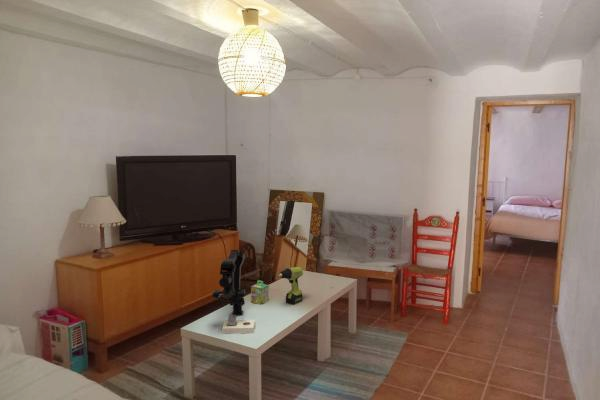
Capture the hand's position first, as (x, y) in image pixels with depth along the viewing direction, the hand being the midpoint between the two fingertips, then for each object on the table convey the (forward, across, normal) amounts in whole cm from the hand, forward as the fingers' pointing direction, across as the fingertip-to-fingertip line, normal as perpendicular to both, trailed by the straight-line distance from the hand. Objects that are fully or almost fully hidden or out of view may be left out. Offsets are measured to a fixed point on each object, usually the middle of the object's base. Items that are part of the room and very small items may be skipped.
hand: (229, 306), depth 263 cm
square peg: (+12, +2, -6) cm, 13 cm away
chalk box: (+13, +16, +39) cm, 44 cm away
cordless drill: (+13, +36, +34) cm, 51 cm away
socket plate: (+12, +6, -6) cm, 14 cm away
